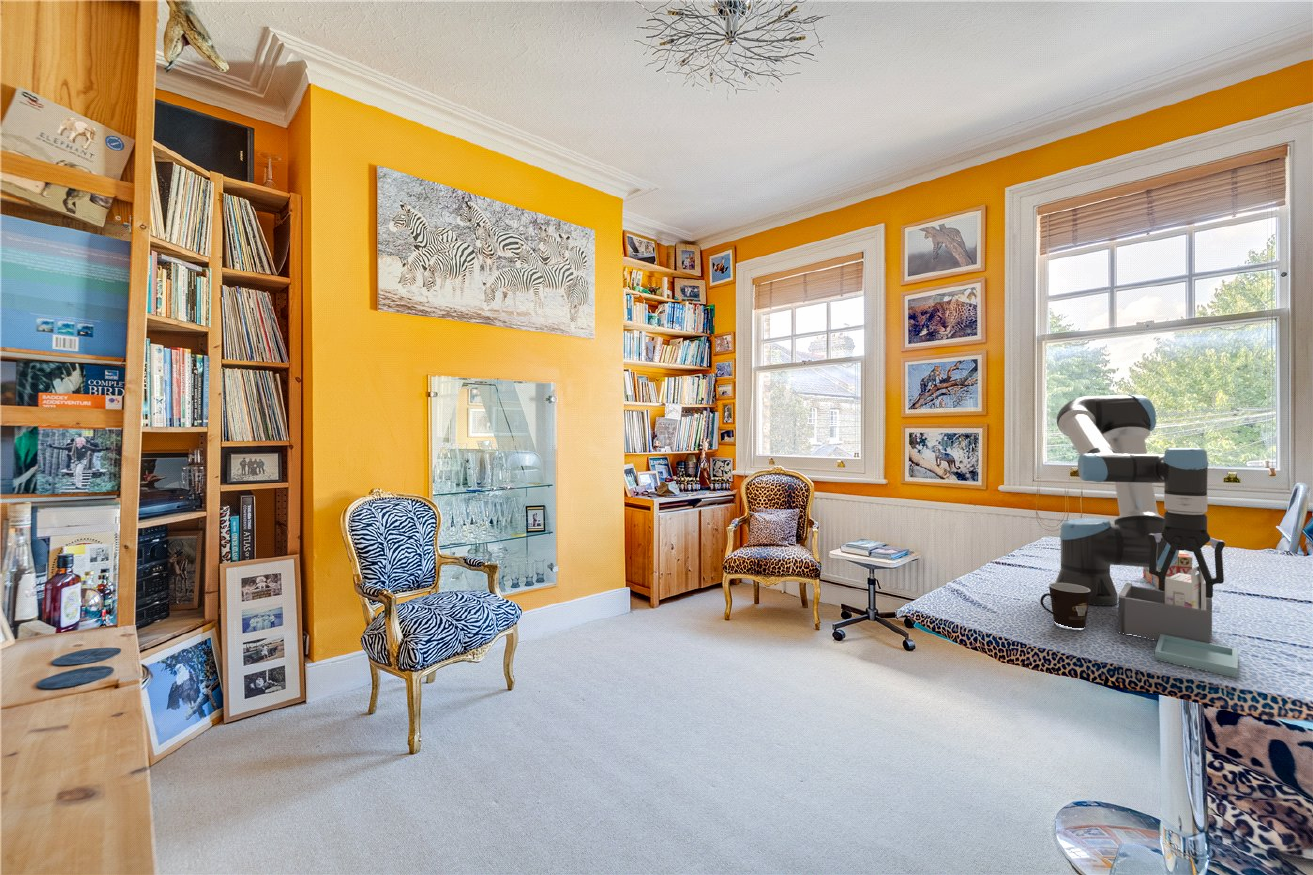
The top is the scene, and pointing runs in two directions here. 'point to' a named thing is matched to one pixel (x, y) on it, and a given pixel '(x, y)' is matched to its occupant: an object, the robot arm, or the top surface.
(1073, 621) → the coffee mug
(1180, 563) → the stack of blocks
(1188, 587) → the ink cartridge box
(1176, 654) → the tray
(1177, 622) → the bay
